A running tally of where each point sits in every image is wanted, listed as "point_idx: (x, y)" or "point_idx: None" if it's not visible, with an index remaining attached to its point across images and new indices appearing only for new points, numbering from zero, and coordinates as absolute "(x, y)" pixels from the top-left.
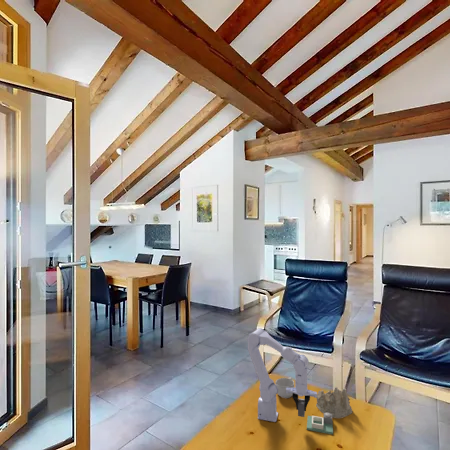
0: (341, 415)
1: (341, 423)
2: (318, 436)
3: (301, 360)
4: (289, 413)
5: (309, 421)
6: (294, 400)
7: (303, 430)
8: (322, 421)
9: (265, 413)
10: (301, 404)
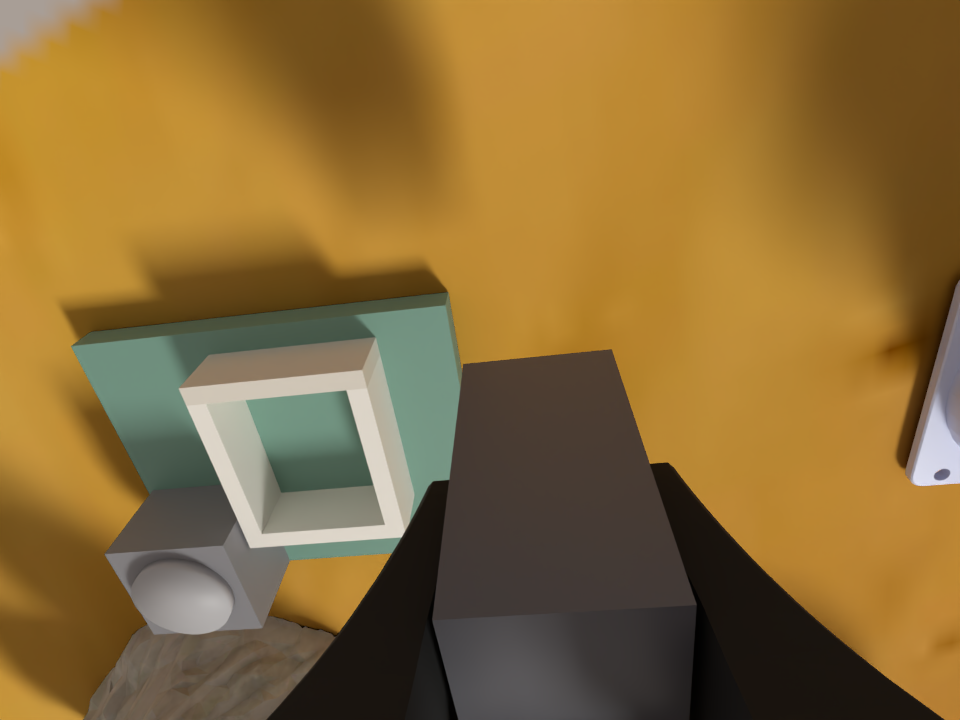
0: (130, 653)
1: (103, 554)
2: (245, 208)
3: None
4: (733, 523)
5: (440, 449)
6: (917, 713)
7: (491, 255)
8: (229, 470)
9: None
10: (543, 603)
